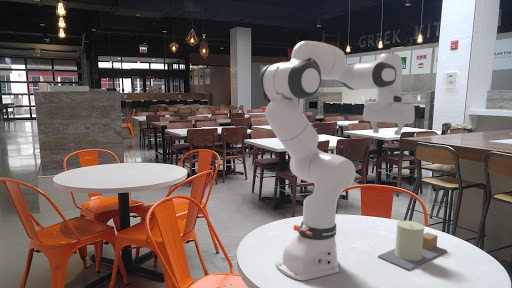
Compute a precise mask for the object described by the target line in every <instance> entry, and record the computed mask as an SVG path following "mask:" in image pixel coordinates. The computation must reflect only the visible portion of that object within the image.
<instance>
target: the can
mask: <svg viewBox="0 0 512 288" xmlns="http://www.w3.org/2000/svg"><path fill="white" fill-rule="evenodd" d="M424 232H425V226H424V225H423V224H421V223H420V222H417V221H412V220H398V221H397V222H396V236H395V237H396V238H395V247H394V249H395V255H396V256H398V257H399V258H402V259H405V260H409V261H418V260H421V259H422V246H423V234H425V233H424Z"/></svg>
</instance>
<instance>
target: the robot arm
mask: <svg viewBox="0 0 512 288" xmlns="http://www.w3.org/2000/svg"><path fill="white" fill-rule="evenodd" d="M290 56H291V57H290V60H289V61H281V62H278V63H277V62H276V63H270V64H268V65H266V66H264V67H263V68H262V70H261V71H260V72H259V76H258V83H259V84H258V85H259V88H260V90H261V92H262V96H263V98H264V100H266V102H268V104H267V105H266V108H265V110H264V113H265V114H264V115H265V118H266V120H267V124H269V127H270V128H271V130H272V132H273V134H274V135H275V136H276V138H277V139H278V141H279V142H280V143H281V145H282V146H283V147H284V149H285V150H286V152H287V153H288V154H289V156H290V161H289V169H290V172H291V173H292V174H293V175H294V176H295V177H297V178H299V179H300V180H302V181H305V182H307V183H308V182H309V183H312V184H314V188H313V192H312V193H311V194H310V195H307V197H306V198H304V200H303V206H302V207H303V209H302V221H301V224H300V225H299V224H294V225H293V230H294V231H296V232H298V233H297V234H296V236H295V237H294V238H293V239H292V240H291V241H290V242H289V243H288V244H287V245H286V246H285V247H284V249H283V253H282V258H280V259H278V260H276V261H275V267H276V268H277V270H279V272H281V273H283V274H284V275H285V276H288V277H289V278H291V279H294V280H298V281H301V282H302V281H307V280H312V279H316V278H320V277H324V276H328V275H332V274H337V273H339V272H340V267H339V260H338V259H339V258H338V251H337V249H338V248H337V242H336V235H337V224H336V214H337V203H338V200H339V197H340V196H341V194H342V193H343V191H344V190H346V189H347V188H349V187H350V186H351V185H352V184H353V182H354V180H355V178H356V167H355V165H354V163H353V161H351V160H350V159H348V158H346V157H344V156H342V155H338V154H333V153H328V152H324V151H322V150H320V149H319V148H318V143H319V141H320V140H319V139H320V138H319V134H318V133H317V131H316V130H315V128H314V127H313V125H312V124H311V122H310V121H309V118H308V117H307V116H306V114H304V112H303V111H302V110H301V107H300V104H299V100H305V99H310V98H311V97H314V96H315V95H316V94H317V93H318V91H319V89H320V87H321V83H322V80H327V81H332V80H333V81H336V82H339V83H341V84H342V85H343V86H344V87H345V88H347V89H348V90H350V91H354V90H355V91H356V90H368V89H369V90H373V89H374V90H375V89H376V90H375V91H376V92H375V93H376V95H375V96H376V97H368V98H367V99H365V101H364V108H363V113H362V119H363V121H364V122H370V125H371V128H372V132H373V134H379V132H380V131H379V130H380V128H378V127H377V124H378V123H391V124H397V126H398V128H397V129H395V130H394V136H401V133H402V130H403V129H404V127H405V124H406V125H407V124H413V123H414V121H415V117H416V116H415V114H416V113H415V106H414V104H413V103H414V102H415V100H414V98H415V97H413V96H410V95H408V94H405V93H402V86H401V82H402V80H403V60H402V57H401V56H400V55H399V54H398V53H390V52H386V53H382V54H380V56H379V58H378V59H376V60H373V61H370V62H361V63H357V62H356V63H355V62H354V63H348V64H347V57H346V54H345V52H344V51H343V50H342V49H341V48H339V47H337V46H335V45H332V44H329V43H325V42H321V41H320V42H319V41H314V40H313V41H312V40H303V41H301V42H298V43H297V44H296V45H295V46H294V48H293V49H292V52H291V55H290Z"/></svg>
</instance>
